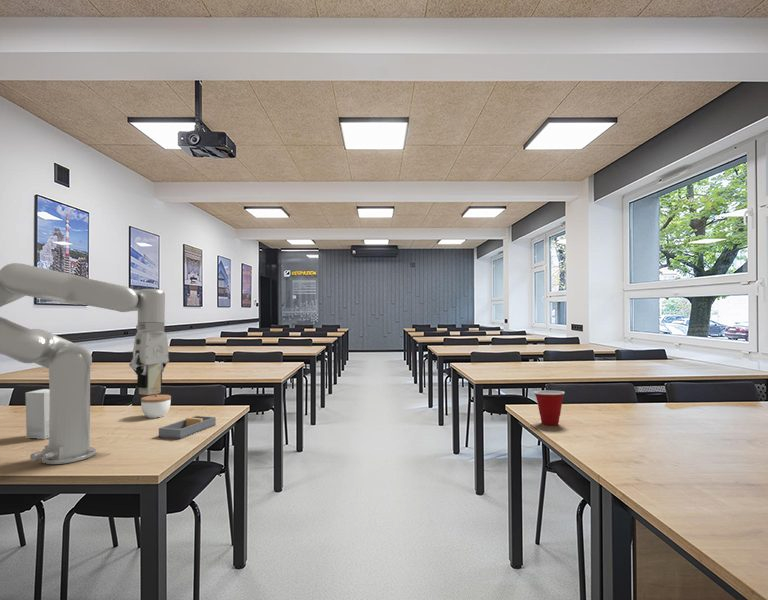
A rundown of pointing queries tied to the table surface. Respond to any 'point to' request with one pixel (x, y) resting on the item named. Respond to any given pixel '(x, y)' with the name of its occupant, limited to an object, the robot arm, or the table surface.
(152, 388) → the box
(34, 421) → the skincare box
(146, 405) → the lidded jar
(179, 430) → the gray tray
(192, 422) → the block
